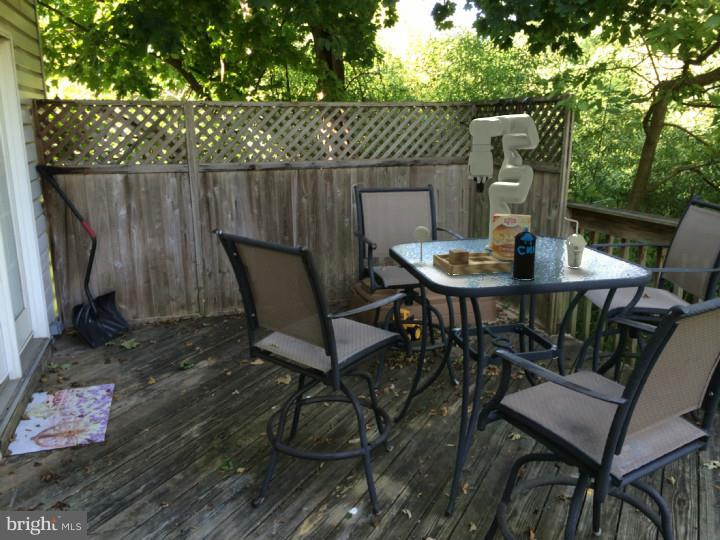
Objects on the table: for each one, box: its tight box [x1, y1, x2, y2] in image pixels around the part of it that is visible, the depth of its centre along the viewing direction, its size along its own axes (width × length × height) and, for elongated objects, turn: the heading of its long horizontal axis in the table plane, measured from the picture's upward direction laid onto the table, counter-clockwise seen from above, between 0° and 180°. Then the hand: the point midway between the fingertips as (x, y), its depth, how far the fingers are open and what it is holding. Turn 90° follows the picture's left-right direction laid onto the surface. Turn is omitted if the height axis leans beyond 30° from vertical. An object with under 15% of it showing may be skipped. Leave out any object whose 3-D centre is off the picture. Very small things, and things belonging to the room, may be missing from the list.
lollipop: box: [413, 225, 431, 261], centre depth 253 cm, size 7×7×15 cm
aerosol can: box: [512, 226, 538, 279], centre depth 219 cm, size 8×8×20 cm
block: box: [448, 248, 470, 265], centre depth 232 cm, size 6×6×6 cm
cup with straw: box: [564, 217, 588, 267], centre depth 235 cm, size 8×9×20 cm
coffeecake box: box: [491, 213, 532, 261], centre depth 252 cm, size 15×7×20 cm, turn 65°
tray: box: [432, 251, 512, 276], centre depth 238 cm, size 25×22×4 cm
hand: (479, 192), depth 250 cm, fingers closed
